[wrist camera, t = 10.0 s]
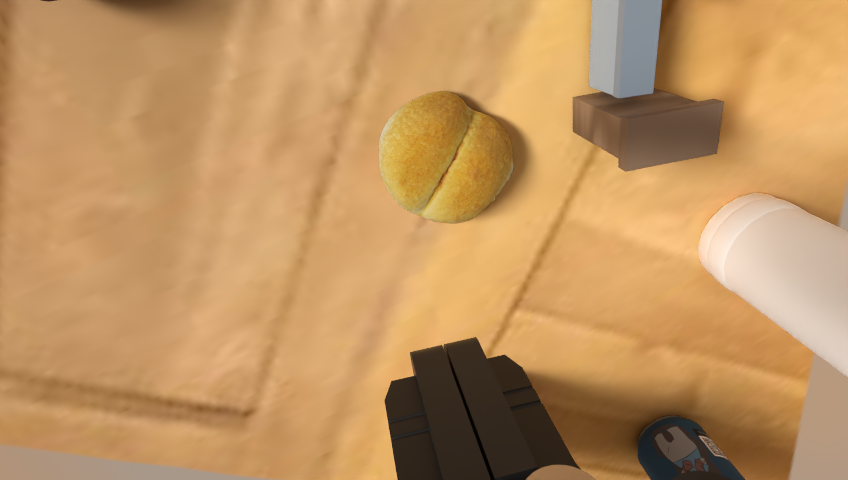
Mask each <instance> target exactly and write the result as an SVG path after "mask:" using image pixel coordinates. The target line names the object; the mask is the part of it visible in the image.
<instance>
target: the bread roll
mask: <svg viewBox="0 0 848 480" xmlns="http://www.w3.org/2000/svg"><path fill="white" fill-rule="evenodd" d="M513 168H514V164H513V161H512V144H511V141H510V138H509V136H508V135H507V133H506V132H505V130H504V129H503V128H502V126H501V125H500V124H499V123H498V122H497V121H496V120H495V119H493V118H492V117H490V116H488V115H486V114H484V113H481V112H478V111H475V110H473V109H471V108H469V107H468V106H467V105H466V103H465V102H464V101H463V100H462V99H461V98H460V97H459V96H457V95H455V94H453V93H450V92H445V91H438V92H433V93H429V94H426V95H423V96H421V97H418V98H416V99H414V100H412V101H410V102H409V103H407V104H406V105H404V106H403V107H401V108H400V109H398V110H397V111H396V112H395V113H394V114H393V115H392V116H391V117H390V118H389V120H388V122H387V123H386V125H385V127H384V129H383V131H382V134H381V138H380V144H379V169H380V173H381V176H382V180H383V182H384V184H385V186H386V188H387V190H388V192H389V193H390V194H391V196H392V197H393V199H394V200H395V201H396V202H397V203H398V204H399V205H400V206H401V207H403V208H404V209H406V210H407V211H409V212H411V213H413V214H416V215H419V216H421V217H424V218H426V219H429V220H432V221H434V222H440V223H450V224H454V223H461V222H465V221H468V220H471V219H472V218H474V217H475V216H476V215H478V214H480V213H481V212H482V211H483V210H484V209H485V208H486V207H488V205H490V203H492V202H494V200H495V197H496V196H497V195H498V194H499V192H500V191H501V190H502V188H503V186H504V185H505V183H506V182H507V181H508V179H509V178H510V175H511V173H512V171H513Z"/></svg>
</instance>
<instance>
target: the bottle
mask: <svg viewBox="0 0 848 480" xmlns="http://www.w3.org/2000/svg"><path fill="white" fill-rule="evenodd" d="M698 253H699V260H700V263H701V264H702V266H703V267H704V268H705V270H706V271H707V272H708V273H709V274H711V275H712V276H713V277H715V279H716V280H717V281H718V282H719V283H720V284H722V285H723V286H724V287H726V288H727V289H729V290H730V291H732V292H735V293H736V294H737V295H739V296H740V297H741V298H743V299H744V300H745V301H747V302H748V303H749V304H751V305H752V306H753V307H755V308H756V309H757V310H759V311H760V312H761V313H763V314H764V315H765V316H767V317H768V318H769V319H771V320H772V321H773V322H775V323H776V324H777V325H779V326H780V327H781V328H783V329H784V330H785V331H787V332H788V333H789V334H791V335H792V336H793V337H795V338H796V339H797V340H799V341H800V342H801V343H803V344H804V345H805V346H807V347H808V348H809V349H811V350H812V351H813V352H815V353H816V354H817V355H819V356H820V357H821V358H823V359H824V360H825V361H827V362H828V363H829V364H831V365H832V366H833V367H835V368H836V369H838V370H839V371H840V372H841V373H843V374H844V375H845V376H847V377H848V231H846V230H844V229H842V228H840V227H838V226H836V225H834V224H831V223H829V222H827V221H825V220H823V219H821V218H819V217H816V216H814V215H812V214H810V213H808V212H806V211H805V210H803V209H801V208H800V207H798V206H796V205H794V204H792V203H790V202H788V201H785V200H783V199H778V198H776V197H774V196H772V195H769V194H763V193H751V194H748V195H744V196H740V197H737V198H736V199H734V200H732V201H731V202H729V203H727V204H726V205H724V206H723V207H722V208H721V209H720V210H719V211H718V212H717V213H716V214H715V215H714V216H713V217H712V218H711V219H710V220H709V222H708V223H707V225H706V227H705V229H704V230H703V232H702V234H701V237H700V242H699V246H698Z"/></svg>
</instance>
